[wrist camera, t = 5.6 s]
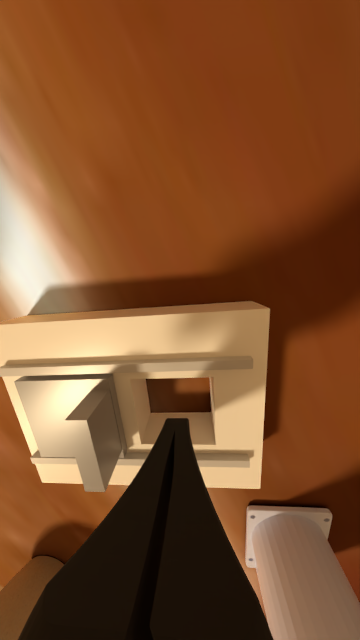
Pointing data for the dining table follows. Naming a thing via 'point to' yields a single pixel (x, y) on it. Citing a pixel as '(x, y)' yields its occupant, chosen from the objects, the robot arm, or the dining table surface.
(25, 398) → the shutter
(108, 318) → the socket
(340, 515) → the dining table surface
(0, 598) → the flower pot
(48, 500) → the dining table surface
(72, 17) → the dining table surface
